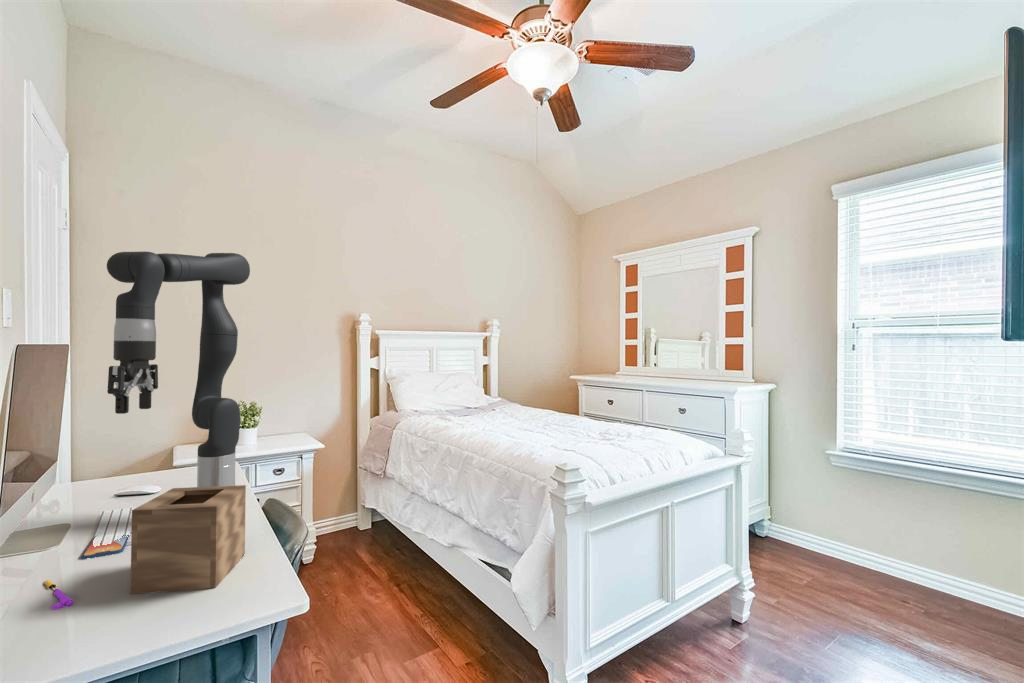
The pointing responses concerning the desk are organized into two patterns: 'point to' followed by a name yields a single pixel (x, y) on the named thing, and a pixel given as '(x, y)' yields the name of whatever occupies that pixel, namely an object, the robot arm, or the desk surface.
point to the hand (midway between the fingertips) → (134, 411)
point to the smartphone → (105, 548)
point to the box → (187, 538)
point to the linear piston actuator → (59, 596)
